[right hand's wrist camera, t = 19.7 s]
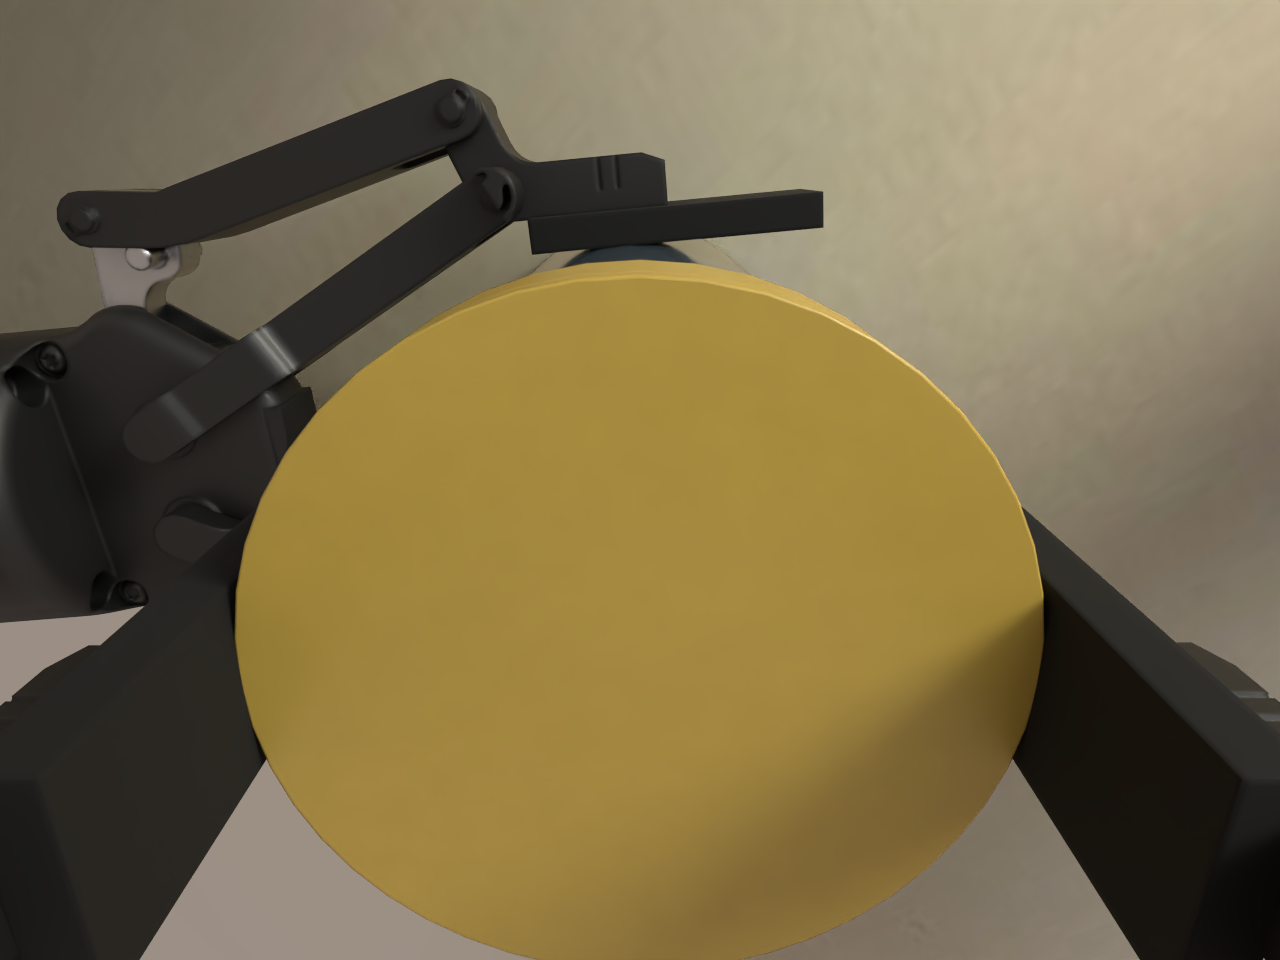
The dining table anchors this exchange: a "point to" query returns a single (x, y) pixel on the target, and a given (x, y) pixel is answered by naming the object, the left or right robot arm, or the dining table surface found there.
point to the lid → (639, 617)
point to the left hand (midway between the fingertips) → (813, 410)
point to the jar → (647, 255)
